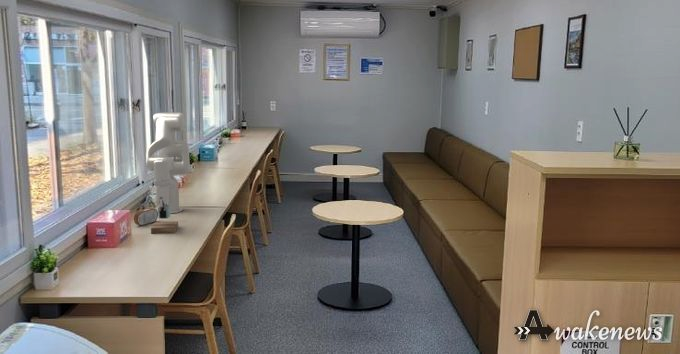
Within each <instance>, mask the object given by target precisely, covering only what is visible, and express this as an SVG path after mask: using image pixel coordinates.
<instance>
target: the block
mask: <svg viewBox="0 0 680 354" xmlns="http://www.w3.org/2000/svg"><path fill="white" fill-rule="evenodd" d="M165 210H166V218H160V205H158V207H157V211H158V218H157V219H158V220H160V219H162V220H163V219H169V218H170V216H171V214H170V208H169V205H165Z"/></svg>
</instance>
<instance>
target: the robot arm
mask: <svg viewBox="0 0 680 354" xmlns="http://www.w3.org/2000/svg"><path fill="white" fill-rule="evenodd" d="M152 119H153V123H154V125H155V135H154V136H155V137H154V138H155V139H154V141H153V142H152V143H151V144H150V145H149V147H148V148H147V150H146V153H145V168H146V170H147V171H149V172H153V175H154V176H153V177H154V186H155V187H156V190H155V194H156V197H155V198H156V206H160V218H166V210H165V205H169V208H170V215H171V214H176V213H177V214H178V213H181V212H182V211H183V208H182V207H180V195H179V194H180V192H179V182H178V179H177V178H176V177H175V176H185V175H189V173H190V170H191V164H190V148H189V144H188V142H187V141H185V140H176V132H182V131H183V130H184V127H185V123H186V117H185V114H184V113H183V112H172V111H171V112H156V113H154V114H153V116H152ZM158 151H160V153H161V156H153V155H154V154H155V153H156V152H158ZM177 157H178V158H177Z"/></svg>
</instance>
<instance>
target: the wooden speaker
mask: <svg viewBox="0 0 680 354" xmlns="http://www.w3.org/2000/svg"><path fill="white" fill-rule="evenodd" d="M158 219H159V218H158V209H156V208H154V207H148V208H144V209H141V210H140V209H139V210H138V211H136V212H135V214H134V215H133V221H134V224H135V225H137V226H141V227H142V226H143V227H144V226H147V225H149V224H154V223H155V222H157V220H158Z"/></svg>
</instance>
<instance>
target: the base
mask: <svg viewBox="0 0 680 354" xmlns="http://www.w3.org/2000/svg"><path fill="white" fill-rule="evenodd" d="M178 229H179V221H177V220H176V221H155V222H153V223H152V226H151V228H150V234H154V235H156V234H175V233H176V232H177V230H178Z"/></svg>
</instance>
